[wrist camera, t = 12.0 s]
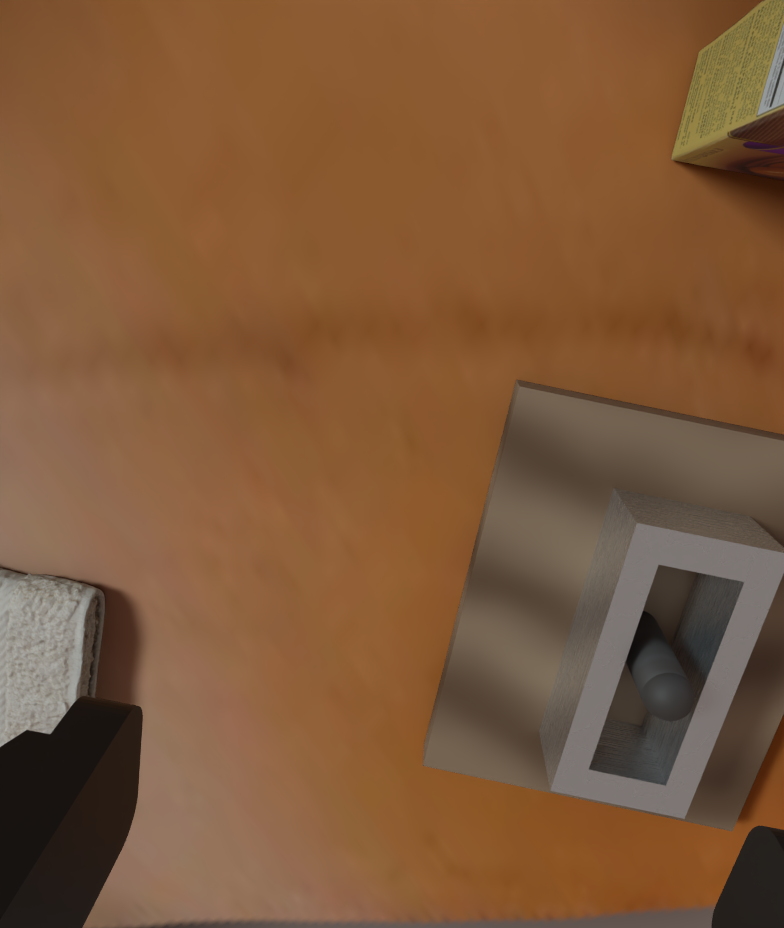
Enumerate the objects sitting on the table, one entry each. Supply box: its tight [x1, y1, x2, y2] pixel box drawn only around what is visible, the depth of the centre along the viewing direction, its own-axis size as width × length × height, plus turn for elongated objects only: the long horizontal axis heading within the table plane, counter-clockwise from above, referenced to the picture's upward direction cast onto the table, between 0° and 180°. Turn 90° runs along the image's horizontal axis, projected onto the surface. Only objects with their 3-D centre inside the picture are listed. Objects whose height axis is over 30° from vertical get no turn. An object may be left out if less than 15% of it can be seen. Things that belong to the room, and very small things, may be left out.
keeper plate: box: [423, 380, 784, 831], centre depth 31 cm, size 20×16×8 cm
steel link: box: [539, 488, 784, 819], centre depth 31 cm, size 13×6×4 cm, turn 169°
